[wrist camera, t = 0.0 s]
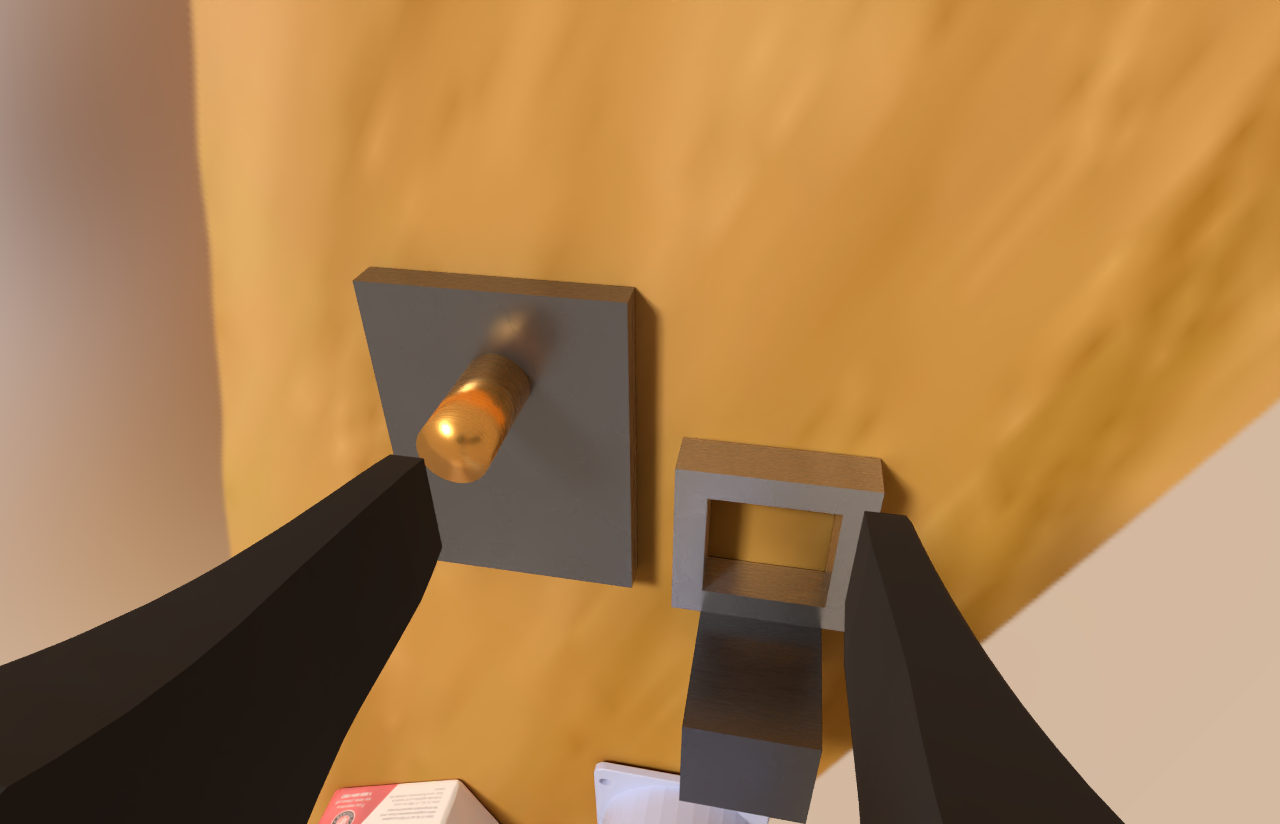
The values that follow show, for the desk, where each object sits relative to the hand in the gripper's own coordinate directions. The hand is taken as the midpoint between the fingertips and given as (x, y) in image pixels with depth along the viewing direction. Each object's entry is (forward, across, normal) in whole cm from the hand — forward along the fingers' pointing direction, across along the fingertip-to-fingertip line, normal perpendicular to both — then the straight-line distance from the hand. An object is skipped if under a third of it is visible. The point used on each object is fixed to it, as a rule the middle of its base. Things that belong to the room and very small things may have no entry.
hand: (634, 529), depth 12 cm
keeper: (+10, +6, +6) cm, 13 cm away
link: (+10, -2, +11) cm, 15 cm away
